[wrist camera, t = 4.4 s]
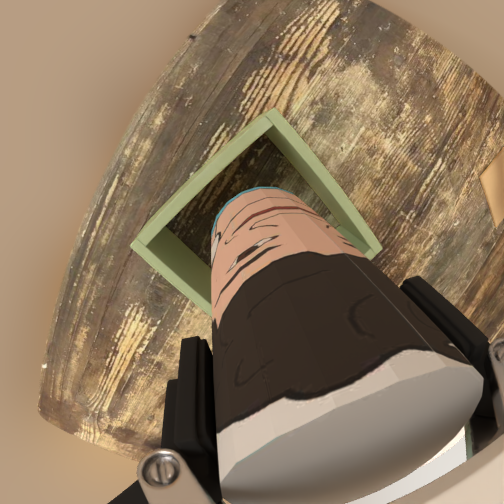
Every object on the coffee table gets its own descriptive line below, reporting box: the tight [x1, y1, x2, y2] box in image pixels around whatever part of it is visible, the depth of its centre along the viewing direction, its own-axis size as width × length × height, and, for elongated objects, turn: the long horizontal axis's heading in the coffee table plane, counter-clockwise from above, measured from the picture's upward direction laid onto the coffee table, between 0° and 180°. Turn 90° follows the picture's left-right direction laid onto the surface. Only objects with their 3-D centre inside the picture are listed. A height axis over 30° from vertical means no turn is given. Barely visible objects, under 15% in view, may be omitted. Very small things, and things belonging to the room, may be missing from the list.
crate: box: [130, 108, 383, 317], centre depth 22 cm, size 13×13×6 cm
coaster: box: [479, 146, 504, 227], centre depth 26 cm, size 8×8×1 cm
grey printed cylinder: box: [211, 187, 484, 504], centre depth 12 cm, size 7×7×15 cm
